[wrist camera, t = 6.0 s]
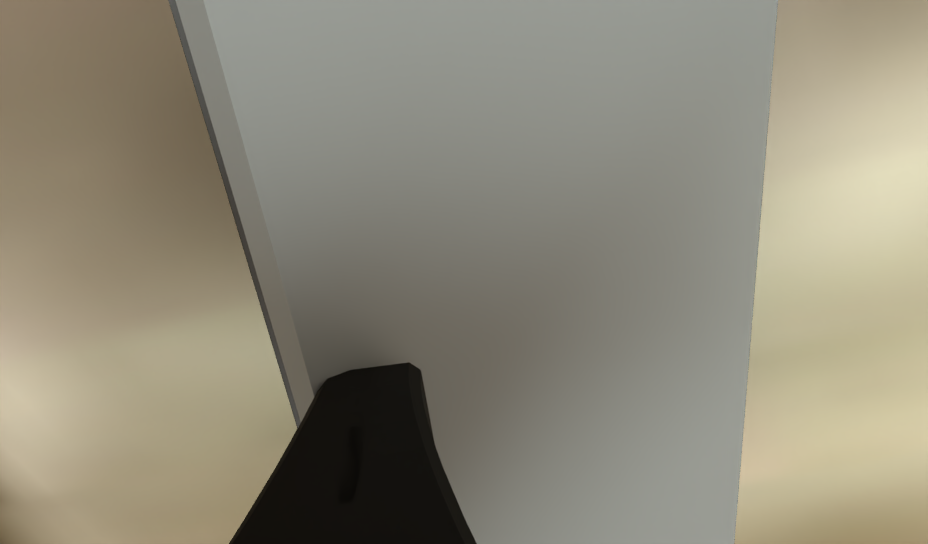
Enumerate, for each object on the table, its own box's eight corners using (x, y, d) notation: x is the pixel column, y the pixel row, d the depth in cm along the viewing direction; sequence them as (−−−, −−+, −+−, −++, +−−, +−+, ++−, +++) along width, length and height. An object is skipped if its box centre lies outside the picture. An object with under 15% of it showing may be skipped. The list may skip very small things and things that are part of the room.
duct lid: (708, 551, 18) (732, 568, 18) (420, 825, 14) (442, 854, 14) (774, -595, 9) (827, -618, 8) (-47, -747, 5) (-23, -805, 4)
